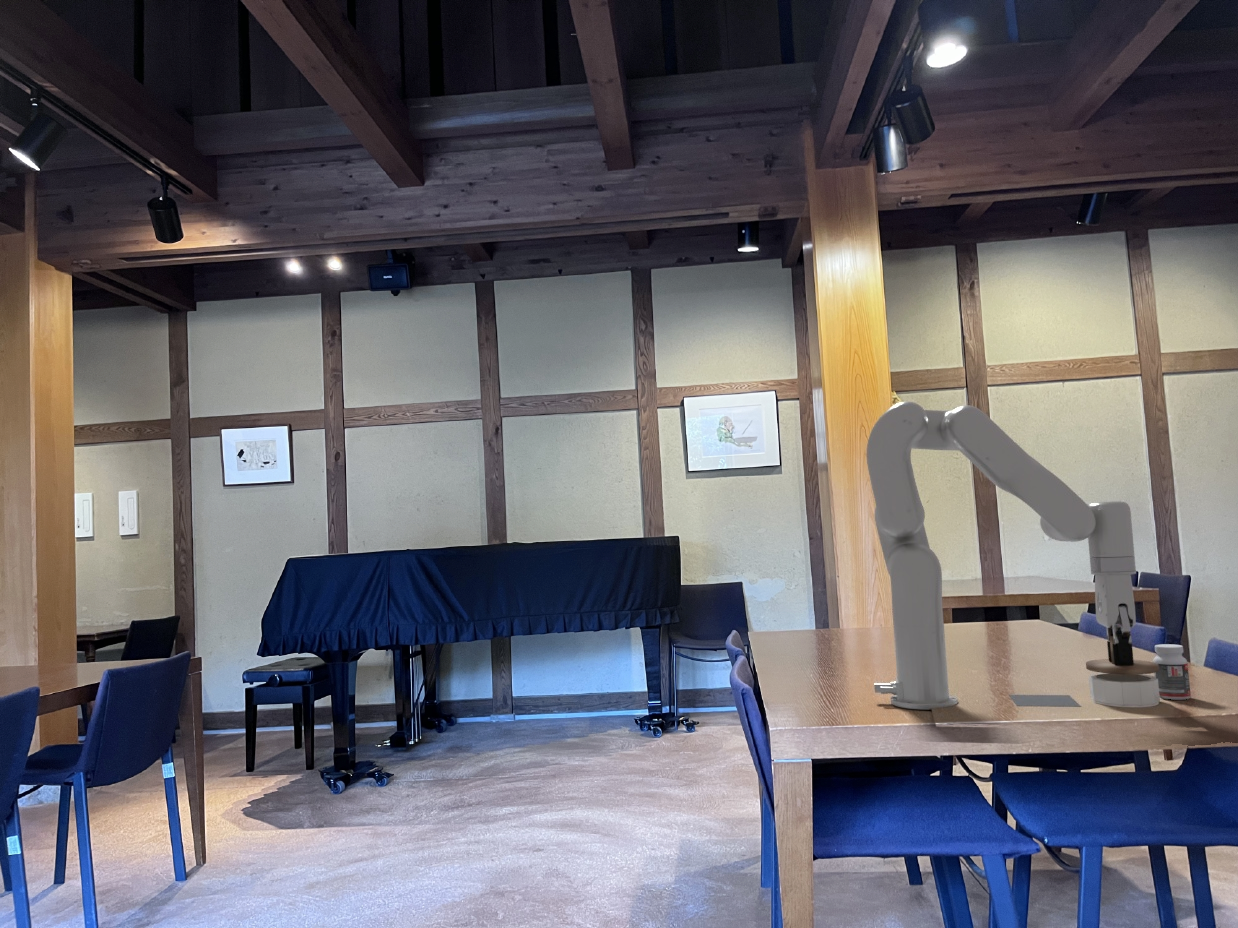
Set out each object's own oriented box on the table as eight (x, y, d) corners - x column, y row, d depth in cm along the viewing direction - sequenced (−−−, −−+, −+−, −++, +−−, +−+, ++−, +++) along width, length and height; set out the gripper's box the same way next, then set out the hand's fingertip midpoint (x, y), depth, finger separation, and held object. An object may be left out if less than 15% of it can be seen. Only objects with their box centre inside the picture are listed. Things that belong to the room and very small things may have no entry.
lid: (1094, 674, 163) (1091, 641, 163) (1080, 664, 174) (1077, 633, 175) (1167, 674, 159) (1164, 640, 160) (1148, 664, 171) (1145, 632, 171)
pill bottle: (1196, 700, 167) (1191, 647, 167) (1163, 700, 168) (1158, 647, 169) (1183, 694, 172) (1178, 643, 173) (1151, 695, 173) (1146, 643, 174)
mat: (1017, 708, 166) (1016, 705, 166) (1009, 697, 177) (1008, 694, 177) (1081, 709, 163) (1081, 706, 163) (1069, 698, 174) (1069, 695, 174)
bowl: (1099, 709, 162) (1097, 682, 163) (1086, 698, 173) (1084, 672, 173) (1167, 710, 159) (1164, 682, 160) (1149, 698, 170) (1147, 672, 170)
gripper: (1081, 564, 177) (1089, 657, 176) (1101, 569, 161) (1109, 670, 160) (1123, 563, 175) (1131, 657, 174) (1147, 567, 159) (1156, 671, 158)
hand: (1121, 662), depth 167 cm, fingers closed on lid, 3 cm apart
